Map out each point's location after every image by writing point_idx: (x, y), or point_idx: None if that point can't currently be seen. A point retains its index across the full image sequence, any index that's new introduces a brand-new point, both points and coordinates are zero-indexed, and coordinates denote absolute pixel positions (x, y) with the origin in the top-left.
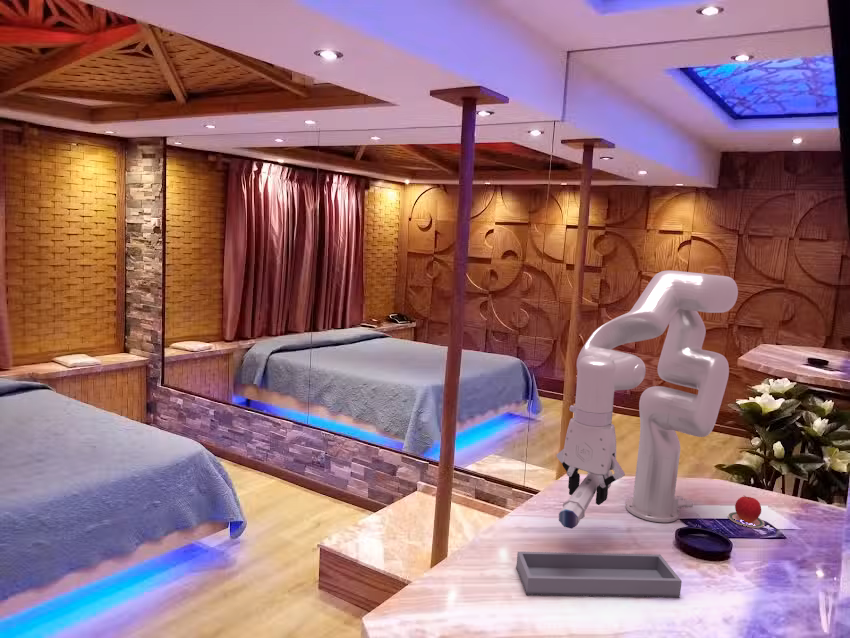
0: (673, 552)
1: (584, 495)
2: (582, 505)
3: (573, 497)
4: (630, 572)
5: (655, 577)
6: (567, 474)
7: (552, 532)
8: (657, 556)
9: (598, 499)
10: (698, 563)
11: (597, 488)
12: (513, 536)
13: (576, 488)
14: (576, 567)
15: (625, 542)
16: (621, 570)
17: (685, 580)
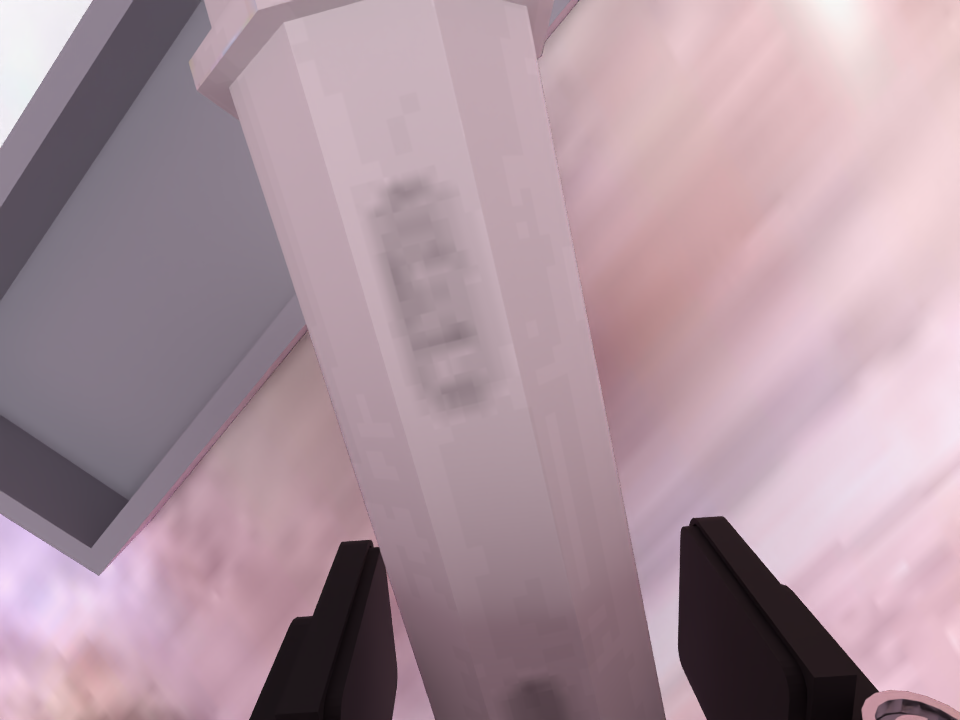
0: (210, 709)
1: (371, 371)
2: (258, 123)
3: (453, 137)
4: (192, 378)
5: (90, 435)
6: (946, 714)
7: (722, 439)
8: (92, 545)
9: (333, 576)
10: (87, 706)
11: (323, 685)
12: (874, 221)
13: (698, 640)
14: None
15: (403, 629)
16: (233, 359)
17: (23, 538)
